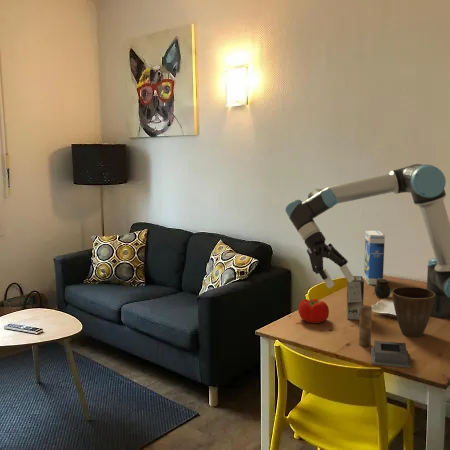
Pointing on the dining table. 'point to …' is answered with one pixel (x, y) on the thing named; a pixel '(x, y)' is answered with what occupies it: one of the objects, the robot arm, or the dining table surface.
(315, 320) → the tomato
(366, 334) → the brown wooden cylinder
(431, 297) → the plant pot
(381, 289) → the mate gourd
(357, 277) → the coffee box
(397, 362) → the grey square socket base
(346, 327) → the dining table surface
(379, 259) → the string lights box
